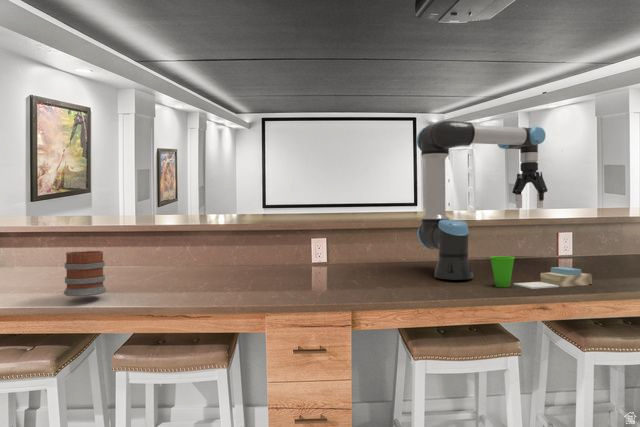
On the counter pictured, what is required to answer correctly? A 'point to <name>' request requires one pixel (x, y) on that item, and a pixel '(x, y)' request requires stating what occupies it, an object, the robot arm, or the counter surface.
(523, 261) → the counter surface
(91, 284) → the mug
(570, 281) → the light wood flat block
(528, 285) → the mat
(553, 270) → the card
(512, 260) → the cup
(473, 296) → the counter surface
